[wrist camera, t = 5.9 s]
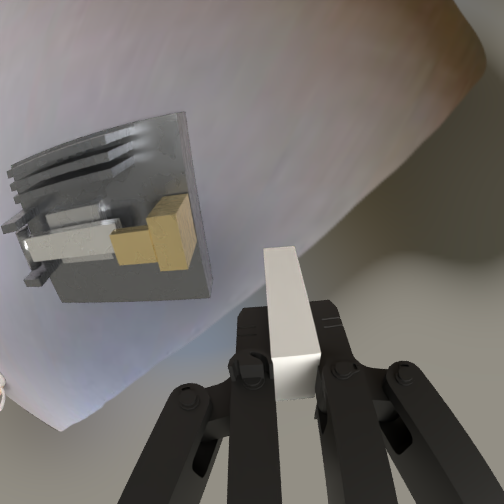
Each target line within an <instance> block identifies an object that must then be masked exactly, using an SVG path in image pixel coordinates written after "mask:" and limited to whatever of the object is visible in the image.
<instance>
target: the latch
mask: <svg viewBox="0 0 504 504" xmlns="http://www.w3.org/2000/svg"><path fill="white" fill-rule="evenodd" d="M146 221H147V225H143V226H135V227H127V228H120V229H114V230H113V231H112V232H111V234H110V235H109V237H110V240H111V243H112V246H113V249H114V252H115V255H116V258H117V260H118V263H119V265H131V264H144V263H156V262H158V264H159V268H160V271H173V270H186V269H188V268H189V265H190V262H191V259H192V255H193V252H194V249H195V246H196V243H197V239H196V234H195V229H194V224H193V218H192V213H191V208H190V202H189V197H188V193H187V194H179V195H172V196H165V197H162V198H161V199H160V201H159V202H158V203H157V204H156V206H155V207H154V208H153V209H152V211H151V212H150V213H149V215H148V216H147V217H146Z"/></svg>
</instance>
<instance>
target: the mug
mask: <svg viewBox="0 0 504 504" xmlns="http://www.w3.org/2000/svg"><path fill="white" fill-rule="evenodd" d="M5 383H6V381H5V378H4V377H3V375H2V374H1V373H0V387H1V386H3V385H5ZM1 391H2V401H1V403H0V411H1V410H2V408H3V407H4V403H5V392H4V389H3V388H2V387H1Z"/></svg>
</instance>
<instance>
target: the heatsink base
mask: <svg viewBox="0 0 504 504" xmlns="http://www.w3.org/2000/svg"><path fill="white" fill-rule="evenodd" d="M11 168H12V169H11V170H9V171H7V175H8V179H9V178H11V177H14V181H15V182H13V183H12V184H10V187H11V190H12V191H14V190H17V192H18V195H16V196H15V197H14V201H15V204H18V203H21V205H22V208H23V210H22V211H21V212H19V213H18V214H16V215H15V216H14V217H12V218H11V219H10V220H8V221H7V222H6V223H4V224H3V225H2V226H1V228H2V231H3V234H6V233H10V232H14V231H18V230H19V229H20V228H22V227H23V226H24V225H25V224H27V223H28V226H29V229H30V231H31V234H34V233H39V232H44V231H49V230H54V229H59V228H64V227H69V226H75V225H80V224H86V223H92V222H97V221H103V220H109V219H116V218H120V222H121V225H122V228H127V227H135V226H143V225H147V221H146V217H147V216H148V215H149V213H150V212H151V211H152V209H153V208H154V207H155V206H156V204H157V203H158V202H159V201H160V199H161V198H162V197H165V196H172V195H179V194H187V193H188V197H189V202H190V208H191V213H192V218H193V224H194V229H195V234H196V239H197V243H196V246H195V249H194V252H193V255H192V259H191V262H190V265H189V268H188V269H186V270H173V271H160V268H159V264H158V262H156V263H144V264H131V265H119V263H118V260H117V258H116V255H115V253H106V254H97V255H88V256H80V257H71V258H63V259H54V260H46V261H41V262H42V265H41V267H40V268H38V269H36V270H34V271H31V272H30V274H29V275H28V276H27V277H26V278H25V279H24V282H25V284H26V286H27V287H40V286H43V284H44V283H45V282H46V281H47V280H48V278H49V277H50V279H51V281H52V283H53V285H54V288H55V290H56V292H57V294H58V296H59V297H60V299H61V301H62V303H85V302H135V301H162V300H183V299H201V298H210V295H211V289H212V283H213V276H212V271H211V265H210V260H209V255H208V250H207V245H206V239H205V234H204V228H203V223H202V217H201V211H200V206H199V200H198V194H197V188H196V182H195V175H194V169H193V162H192V156H191V149H190V142H189V135H188V128H187V121H186V113H185V112H180V113H175V114H169V115H164V116H160V117H155V118H150V119H146V120H142V121H137V122H133V123H129V124H125V125H122V126H118V127H114V128H111V129H107V130H104V131H100V132H97V133H94V134H91V135H87V136H84V137H81V138H78V139H75V140H72V141H70V142H67V143H64V144H61V145H59V146H56V147H53V148H51V149H48V150H46V151H43V152H41V153H38V154H36V155H33V156H31V157H29V158H26V159H24V160H22V161H20V162H17V163H15V164H13V165H11Z"/></svg>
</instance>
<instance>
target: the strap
mask: <svg viewBox="0 0 504 504" xmlns="http://www.w3.org/2000/svg"><path fill="white" fill-rule="evenodd" d="M120 228H122V225H121V222H120V218H116V219H109V220H103V221H97V222H92V223H86V224H80V225H75V226H69V227H64V228H59V229H54V230H49V231H44V232H39V233H34V234H30V232H29V230H28V227H27V226H25V227H23V228H21V229H19V230H18V231H17V232H16V235H17V238H18V240H19V243H20V246H21V248H22V250H23V253H24V255H25V258H26V260H27V262H28V264H29V267H30V269H31V270H32V271H34V270H36V269H38V268H40V267H41V265H42V262H41V261H46V260H54V259H63V258H71V257H80V256H88V255H97V254H106V253H115V252H114V249H113V246H112V243H111V240H110V237H109V235H110V234H111V232H112V231H113V230H114V229H120Z"/></svg>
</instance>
